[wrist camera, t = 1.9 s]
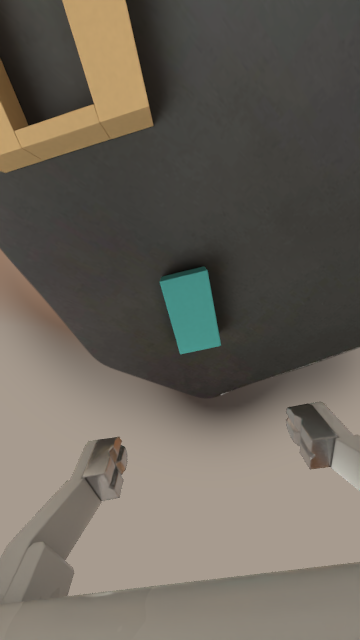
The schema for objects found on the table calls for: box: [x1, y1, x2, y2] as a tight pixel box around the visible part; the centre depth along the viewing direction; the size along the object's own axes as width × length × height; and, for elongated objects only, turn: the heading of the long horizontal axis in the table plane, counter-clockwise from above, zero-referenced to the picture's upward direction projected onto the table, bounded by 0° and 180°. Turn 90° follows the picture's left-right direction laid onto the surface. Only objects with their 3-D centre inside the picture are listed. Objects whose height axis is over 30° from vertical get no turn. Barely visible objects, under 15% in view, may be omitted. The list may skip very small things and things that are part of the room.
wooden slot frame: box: [0, 0, 153, 173], centre depth 15 cm, size 16×14×3 cm
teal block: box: [160, 266, 221, 354], centre depth 24 cm, size 6×10×3 cm, turn 13°
